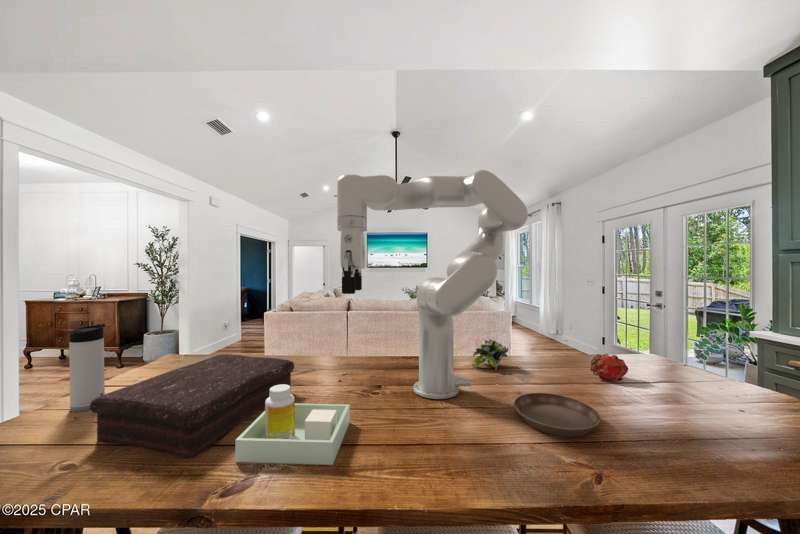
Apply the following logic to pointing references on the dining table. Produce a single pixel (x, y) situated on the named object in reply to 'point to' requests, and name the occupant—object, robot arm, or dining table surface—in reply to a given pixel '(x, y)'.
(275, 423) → the supplement bottle
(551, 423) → the plant saucer
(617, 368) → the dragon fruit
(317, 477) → the dining table surface
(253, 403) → the folded brown towel
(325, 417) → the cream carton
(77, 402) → the travel mug
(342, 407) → the pale green tray
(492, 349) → the green leafy plant
